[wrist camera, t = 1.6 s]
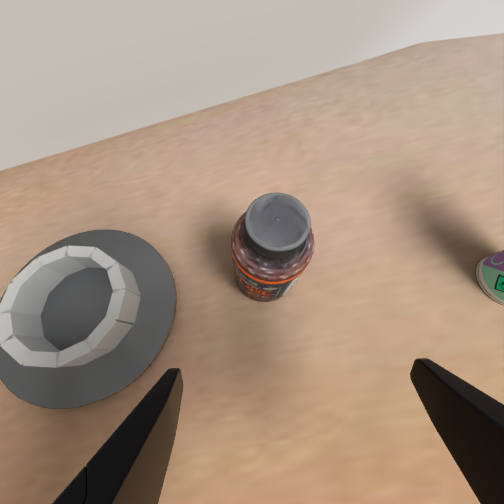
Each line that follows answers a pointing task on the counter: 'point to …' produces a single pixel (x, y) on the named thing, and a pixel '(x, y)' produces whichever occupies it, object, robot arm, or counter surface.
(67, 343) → the ring mount
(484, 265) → the spray can
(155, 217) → the counter surface
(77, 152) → the counter surface
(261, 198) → the supplement bottle
